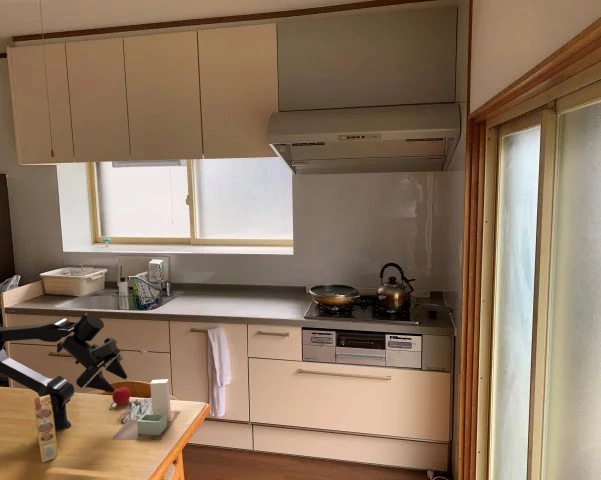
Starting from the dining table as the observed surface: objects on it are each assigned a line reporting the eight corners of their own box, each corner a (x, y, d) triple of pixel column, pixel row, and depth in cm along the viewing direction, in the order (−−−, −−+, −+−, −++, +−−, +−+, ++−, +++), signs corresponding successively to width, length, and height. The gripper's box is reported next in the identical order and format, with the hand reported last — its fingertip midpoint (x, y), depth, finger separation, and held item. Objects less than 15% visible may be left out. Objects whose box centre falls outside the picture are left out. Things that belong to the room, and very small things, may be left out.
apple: (104, 410, 151) (103, 392, 150) (117, 399, 159) (115, 381, 158) (127, 411, 150) (125, 393, 149) (138, 400, 158) (137, 382, 157)
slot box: (137, 433, 134) (136, 421, 134) (145, 425, 139) (144, 413, 138) (159, 435, 133) (158, 422, 133) (166, 426, 138) (166, 414, 137)
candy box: (58, 457, 125) (53, 405, 123) (41, 463, 123) (35, 410, 121) (55, 443, 132) (50, 393, 131) (39, 448, 130) (33, 398, 128)
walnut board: (111, 442, 132) (111, 438, 132) (136, 413, 148) (136, 410, 148) (161, 443, 131) (160, 439, 131) (180, 414, 147) (180, 411, 147)
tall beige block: (153, 419, 142) (150, 383, 140) (155, 415, 144) (152, 379, 143) (169, 418, 142) (166, 382, 141) (170, 414, 145) (168, 379, 143)
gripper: (83, 343, 128) (124, 379, 129) (112, 323, 147) (148, 355, 148) (58, 370, 130) (99, 406, 130) (90, 346, 148) (126, 378, 149)
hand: (120, 384), depth 139 cm, fingers open, 9 cm apart
